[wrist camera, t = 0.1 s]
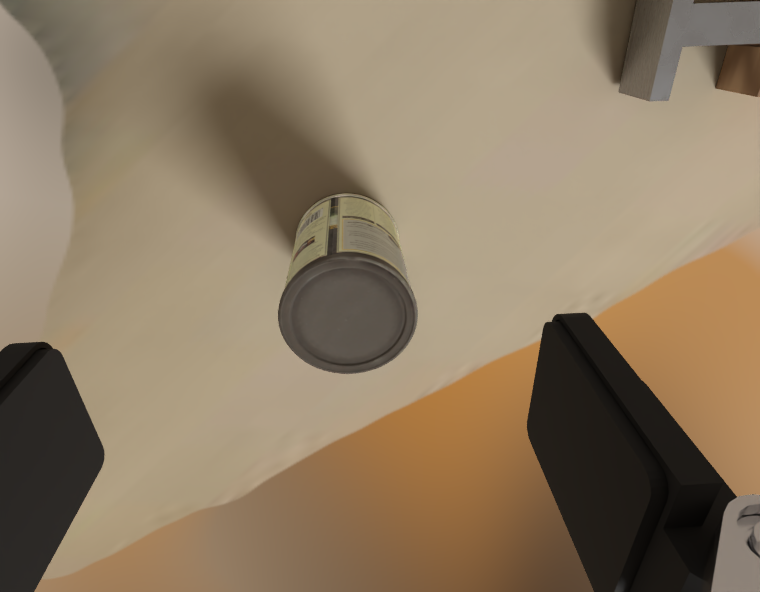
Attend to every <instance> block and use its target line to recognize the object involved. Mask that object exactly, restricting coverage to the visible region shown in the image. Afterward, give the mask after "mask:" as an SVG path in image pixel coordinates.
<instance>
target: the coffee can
mask: <svg viewBox="0 0 760 592" xmlns="http://www.w3.org/2000/svg"><path fill="white" fill-rule="evenodd" d="M417 318H418V310H417V304H416V300H415V297H414V294H413V292H412V289H411V287H410V283H409V279H408V274H407V270H406V266H405V262H404V258H403V254H402V250H401V246H400V242H399V235H398V230H397V227H396V224H395V222H394V220H393V218H392V217H391V215H390V214H389V213H388V211H387V210H386V209H385V208H384V207H383V206H381V205H380V204H379V203H377V202H376V201H374V200H372V199H370V198H368V197H365V196H362V195H357V194H348V193H343V194H336V195H332V196H329V197H326V198H324V199H321V200H320V201H318V202H317V203H315V204H314V205H313V206H312V207H311V208H309V209H308V211H307V212H306V213H305V214H304V216H303V217H302V219H301V221H300V223H299V225H298V228H297V232H296V240H295V245H294V249H293V254H292V259H291V263H290V267H289V272H288V276H287V281H286V286H285V289H284V292H283V294H282V297H281V300H280V304H279V310H278V321H279V327H280V331H281V334H282V336H283V338H284V340H285V341H286V343H287V345H288V346H289V347H290V348H291V350H292V351H293V352H294V353H295V354H296V355H297V356H298V357H300V358H301V359H302V360H303V361H305V362H306V363H308V364H310V365H312V366H314V367H316V368H319V369H322V370H325V371H329V372H333V373H341V374H353V373H362V372H366V371H370V370H373V369H376V368H379V367H381V366H383V365H385V364H387V363H388V362H390V361H392V360H393V359H394V358H396V357H397V356H398V355H399V354H400V353H401V352H402V351H403V350H404V349H405V348H406V346H407V345H408V344H409V342H410V340H411V339H412V337H413V335H414V332H415V329H416V325H417Z"/></svg>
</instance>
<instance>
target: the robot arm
mask: <svg viewBox="0 0 760 592" xmlns="http://www.w3.org/2000/svg"><path fill="white" fill-rule="evenodd" d="M527 430H528V436H529V439H530V442H531V444H532V447H533V449H534V451H535V454H536V456H537V459H538V461H539V463H540V465H541V468H542V470H543V472H544V475H545V477H546V480H547V482H548V484H549V487H550V489H551V491H552V494H553V496H554V498H555V501H556V503H557V505H558V508H559V510H560V512H561V515H562V517H563V520H564V522H565V524H566V526H567V528H568V531H569V534H570V536H571V538H572V541H573V543H574V545H575V548H576V550H577V552H578V555H579V557H580V559H581V562H582V564H583V566H584V569H585V571H586V573H587V576H588V578H589V580H590V583H591V585H592V588H593V590H594V592H760V495H754V494H752V495H745V496H739V497H737V496H736V495H735V494H734V493H733V492H732V490H731V489H730V488H729V487H728V485H727V484H726V483H725V482H724V480H723V479H722V478H721V477H720V475H719V474H718V473H717V472H716V470H715V469H714V468H713V467H712V465H711V464H710V463H709V462H708V460H707V459H706V458H705V457H704V455H703V454H702V453H701V452H700V451H699V449H698V448H697V447H696V446H695V444H694V443H693V442H692V441H691V439H690V438H689V437H688V436H687V435H686V433H685V432H684V431H683V429H682V428H681V427H680V426H679V425H678V423H677V422H676V421H675V419H674V418H673V417H672V416H671V415H670V413H669V412H668V411H667V410H666V408H665V407H664V406H663V405H662V403H661V402H660V401H659V400H658V398H657V397H656V396H655V395H654V394H653V392H652V391H651V390H650V388H649V387H648V386H647V385H646V384H645V383H644V382H643V381H642V380H641V379H640V378H639V377H638V376H637V374H636V373H635V372H634V370H633V369H632V368H631V367H630V365H629V364H628V363H627V362H626V360H625V359H624V358H623V357H622V355H621V354H620V353H619V352H618V350H617V349H616V348H615V347H614V345H613V344H612V343H611V342H610V341H609V339H608V338H607V337H606V335H605V334H604V333H603V332H602V330H601V329H600V328H599V327H598V325H597V324H596V323H595V322H594V320H593V319H592V318H591V317H590V316H589V315H588V314H587V313H570V314H557V315H555V316H554V318H553V320H552V322H546V323H545V325H544V328H543V332H542V338H541V344H540V350H539V356H538V362H537V368H536V374H535V379H534V385H533V391H532V397H531V403H530V408H529V414H528V420H527ZM103 462H104V449H103V446H102V443H101V441H100V439H99V437H98V434H97V432H96V430H95V428H94V425H93V423H92V421H91V419H90V416H89V414H88V412H87V410H86V407H85V405H84V403H83V401H82V398H81V396H80V394H79V392H78V389H77V387H76V385H75V383H74V380H73V378H72V376H71V374H70V371H69V369H68V367H67V365H66V362H65V360H64V358H63V356H62V354H61V352H60V351H58V350H57V349H53V348H52V346H51V345H49V344H48V343H45V342H32V343H15V344H9V345H8V346H6V347H5V348H4V349H2V351H1V352H0V592H34V591H35V589H36V587H37V585H38V583H39V582H40V580H41V578H42V576H43V574H44V572H45V571H46V569H47V567H48V565H49V563H50V561H51V560H52V558H53V556H54V554H55V552H56V550H57V549H58V547H59V545H60V543H61V541H62V539H63V538H64V536H65V534H66V532H67V530H68V528H69V527H70V525H71V523H72V521H73V519H74V517H75V516H76V514H77V512H78V510H79V508H80V506H81V505H82V503H83V501H84V499H85V497H86V495H87V493H88V492H89V490H90V488H91V486H92V484H93V482H94V481H95V479H96V477H97V475H98V473H99V471H100V470H101V468H102V465H103Z"/></svg>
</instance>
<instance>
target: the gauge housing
mask: <svg viewBox="0 0 760 592" xmlns="http://www.w3.org/2000/svg"><path fill="white" fill-rule="evenodd" d="M716 89H721V90H726V91H731V92H736V93H741V94H746V95H751V96H756V97H760V44H737V45H728V48H727V51H726V55H725V58H724V62H723V65H722V68H721V72H720V75H719V79H718V82H717V85H716Z"/></svg>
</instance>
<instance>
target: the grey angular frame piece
mask: <svg viewBox="0 0 760 592" xmlns="http://www.w3.org/2000/svg"><path fill="white" fill-rule="evenodd" d="M693 2H694V0H637V3H636V8H635V13H634V18H633V22H632V27H631V32H630V37H629V42H628V47H627V52H626V57H625V62H624V67H623V72H622V77H621V82H620V87H619V93H623V94H626V95H630V96H633V97H636V98H640V99H643V100H647V101H669V97H670V93H671V89H672V85H673V81H674V77H675V73H676V69H677V66H678V62H679V58H680V54H681V50H682V47H685V46H711V45H737V44H760V1H748V2H720V3H693Z"/></svg>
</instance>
